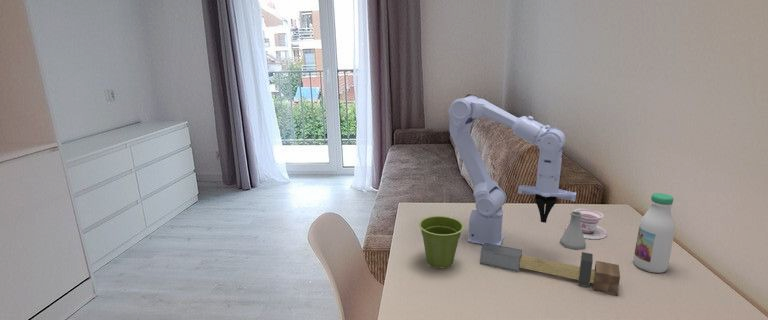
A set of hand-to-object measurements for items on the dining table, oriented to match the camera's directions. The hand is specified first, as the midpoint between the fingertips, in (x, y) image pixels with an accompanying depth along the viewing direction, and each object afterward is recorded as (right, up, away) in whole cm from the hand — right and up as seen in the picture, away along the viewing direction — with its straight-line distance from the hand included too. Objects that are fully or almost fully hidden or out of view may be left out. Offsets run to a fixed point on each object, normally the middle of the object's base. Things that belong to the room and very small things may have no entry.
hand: (543, 221), depth 114 cm
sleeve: (-13, -11, -3) cm, 17 cm away
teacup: (+20, -6, +16) cm, 26 cm away
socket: (+10, -14, -14) cm, 22 cm away
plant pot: (-29, -11, -2) cm, 31 cm away
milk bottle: (+26, -12, -4) cm, 29 cm away
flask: (+12, -8, +8) cm, 16 cm away
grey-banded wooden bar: (0, -12, -9) cm, 16 cm away
